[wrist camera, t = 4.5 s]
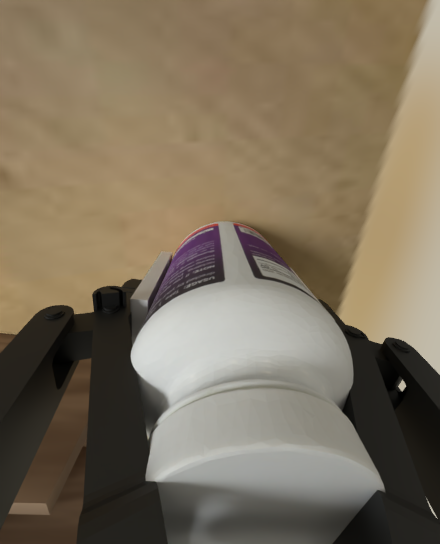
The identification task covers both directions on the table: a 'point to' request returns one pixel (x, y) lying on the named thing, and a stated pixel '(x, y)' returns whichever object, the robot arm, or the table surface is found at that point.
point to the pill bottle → (247, 399)
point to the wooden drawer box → (54, 471)
